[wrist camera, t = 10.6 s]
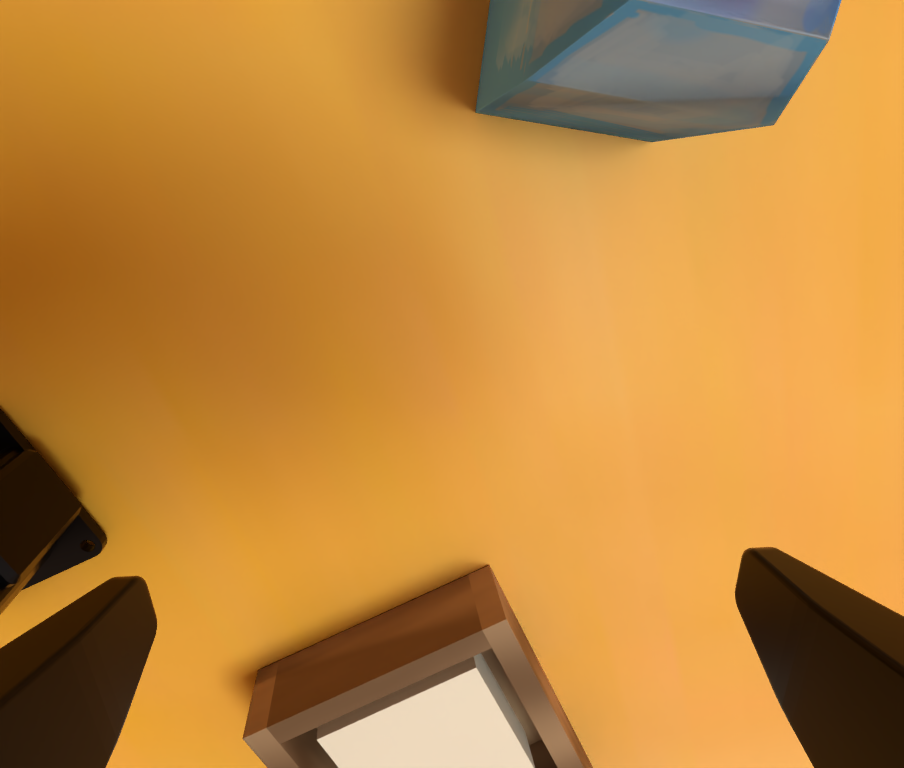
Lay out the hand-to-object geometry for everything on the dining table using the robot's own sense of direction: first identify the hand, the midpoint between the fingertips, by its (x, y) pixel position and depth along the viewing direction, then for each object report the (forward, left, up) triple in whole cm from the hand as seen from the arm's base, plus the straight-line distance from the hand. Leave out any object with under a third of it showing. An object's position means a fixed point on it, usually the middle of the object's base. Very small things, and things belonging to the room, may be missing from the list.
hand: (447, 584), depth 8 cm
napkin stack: (-6, -16, -12) cm, 21 cm away
